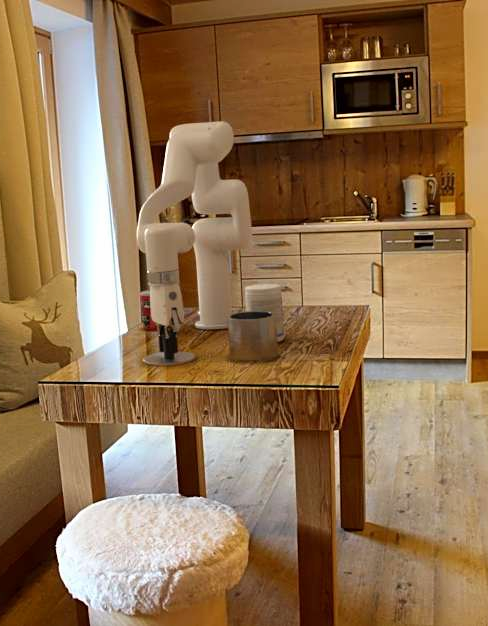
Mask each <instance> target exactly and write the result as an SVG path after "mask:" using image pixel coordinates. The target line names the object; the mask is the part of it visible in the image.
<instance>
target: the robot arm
mask: <svg viewBox="0 0 488 626" xmlns="http://www.w3.org/2000/svg"><path fill="white" fill-rule="evenodd" d="M234 139H235V134H234V130H233V128H232V126H231V124H230V123H228V122H227V121H222V120H221V121H208V122H207V121H206V122H192V123H183V124H178V125H175V126H174V127H172V128H171V129H170V132H169V138H168V141H167V143H166V148H165V157H164V163H163V170H162V175H161V176H162V177H161V183H160V185H159V186H158V188H156V189H155V190H154V191H153V192H152V193H151V194H150V196H148V198H147V199H146V201H145V202H144V203H143V205H142V206H141V209H140V211H139V215H138V222H137V227H136V245H137V247H138V249H139V251H141V252H142V253H143V254H145V257H146V259H145V260H146V270H147V271H146V272H147V285H148V286H149V290H150V309H151V317H152V320H153V321H154V323H155V324H156V327H157V330H156V332H157V333H156V334H157V336H158V338H157V339H158V350H159V353H161V352H163V339H162V334H165V337H166V338H164V343H165V354H167V355H168V354H174V353H178V351H179V344H178V336H179V335H178V334H179V331H180V330H181V325H184V323H185V312H184V311H185V310H184V303H183V296H182V291H181V287H180V270H179V257H178V254H185V253H187V252H189V251H190V250H191V249H192V248H193V250H194V256H195V263H196V279H197V294H198V312H197V315H198V316H199V320H197V321H195V323H194V327H195V328H196V329H199V330H207V331H208V330H210V331H211V330H224V329H228V324H227V316H229V315H230V314H233V306H232V287H231V271H230V270H231V269H230V264H229V262H228V260H227V259H226V257H225V256H224V255H223V254H222V253H221V252H227V251H229V252H231V251H233V252H234V251H244V250H247V249H249V248H250V246H251V245H252V243H253V229H252V218H251V210H250V209H251V208H250V207H251V206H250V198H249V192H248V188H247V186H246V184H245V183H244V181H242V180H241V179H235V178H234V179H221V177H220V169H219V163H220V162H222V161H223V160H224V158H225V157H227V156H228V154H229V153H230V152H231V151H232V148H233V146H234V141H235V140H234ZM189 197H191V201H192V206H193V209H194V211H195V212H196V213H197V214H198V215H231V216H230V217H229V216H228V217H206V218H205V217H204V218H201V219H198V220H196V221H195V222H194V223H193V225H192V226H191V225H190V224H188V223H187V222H156V219H157V218H158V216H159V215H160V214H161V213H163V211H165V210H167V209H168V208H170V207H172V206H174V205H175V204H178V203H180V202H182V201H184V200H185V199H187V198H189ZM171 323H172V324H171Z"/></svg>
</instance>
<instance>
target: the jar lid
mask: <svg viewBox="0 0 488 626" xmlns="http://www.w3.org/2000/svg"><path fill="white" fill-rule="evenodd" d="M164 338H166V337H165V334H162V339H163V352H156V353H152V354H149V355H146V356H144V357H143V359H142V362H143V364H144V365H148V366H154V367H171V366H180V365H185V364H189V363H191V362H193V361H195V360H196V354H195V353H193V352H189V351H181V350H178V353H174V354H168V355H167V354H165V343H164Z"/></svg>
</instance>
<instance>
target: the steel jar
mask: <svg viewBox="0 0 488 626" xmlns="http://www.w3.org/2000/svg"><path fill="white" fill-rule="evenodd" d="M227 324H228V328H227V339H228V340H227V341H228V353H229V354H228V356H229V359H231V360H233V361H239V362H260V361H261V362H262V361H268V360H271V359H274V358H278V356H279V350H278V342H277V326H276V314H275V313H273V312H268V311H246V310H245V311H240V312H234V313H232V314H230V315H229V316H227Z"/></svg>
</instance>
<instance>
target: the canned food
mask: <svg viewBox="0 0 488 626" xmlns="http://www.w3.org/2000/svg"><path fill="white" fill-rule="evenodd" d="M139 296H140V308H141V321H142V328H143V330H145V331H153V332H154V331H157V327H156V324H155V323H154V321H153V320H152V317H151V309H150V289H149V290H148V289H147V290H143V291H140V295H139Z"/></svg>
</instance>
